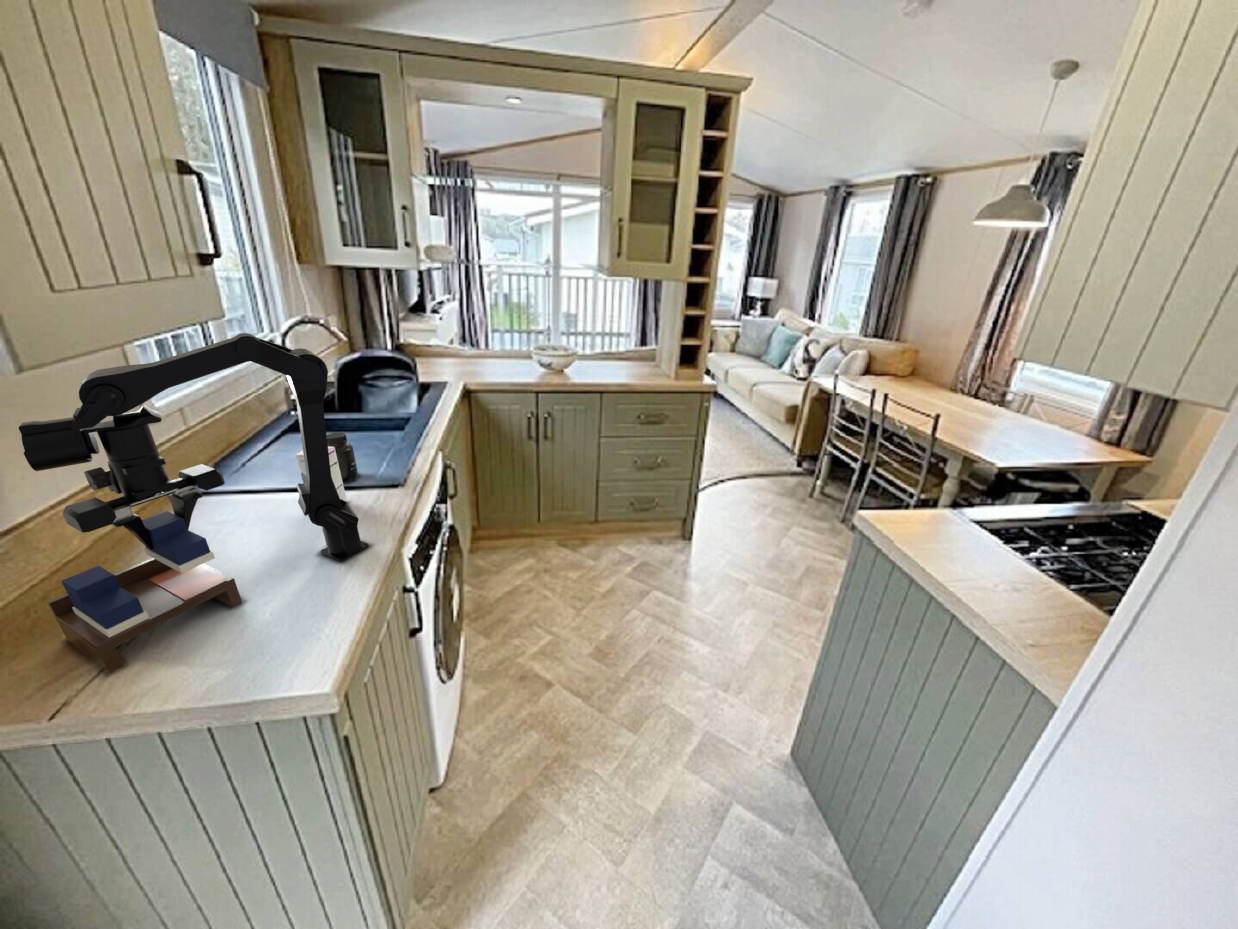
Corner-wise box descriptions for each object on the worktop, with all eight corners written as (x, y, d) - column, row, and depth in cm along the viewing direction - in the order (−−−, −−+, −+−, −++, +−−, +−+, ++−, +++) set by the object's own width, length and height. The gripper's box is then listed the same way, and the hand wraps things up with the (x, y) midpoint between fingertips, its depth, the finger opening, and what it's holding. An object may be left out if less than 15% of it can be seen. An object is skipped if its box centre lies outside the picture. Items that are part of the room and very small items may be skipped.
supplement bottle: (363, 479, 135) (354, 435, 130) (335, 487, 130) (324, 442, 125) (353, 471, 139) (344, 428, 134) (326, 478, 135) (315, 435, 130)
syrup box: (348, 502, 123) (335, 445, 117) (333, 514, 117) (319, 455, 112) (325, 501, 123) (311, 444, 117) (309, 513, 118) (294, 454, 112)
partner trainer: (149, 618, 78) (135, 585, 75) (109, 638, 74) (92, 603, 72) (114, 596, 83) (100, 564, 80) (75, 613, 79) (58, 581, 76)
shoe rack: (242, 602, 89) (229, 566, 86) (110, 673, 74) (89, 632, 72) (198, 579, 95) (185, 544, 92) (67, 640, 80) (46, 601, 77)
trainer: (215, 558, 85) (203, 526, 82) (181, 573, 81) (168, 540, 78) (180, 540, 89) (168, 510, 87) (146, 554, 85) (132, 522, 83)
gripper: (176, 427, 90) (204, 506, 96) (27, 465, 75) (71, 556, 81) (212, 438, 85) (239, 521, 92) (59, 481, 70) (104, 576, 77)
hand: (168, 541), depth 85 cm, fingers closed on trainer, 4 cm apart
